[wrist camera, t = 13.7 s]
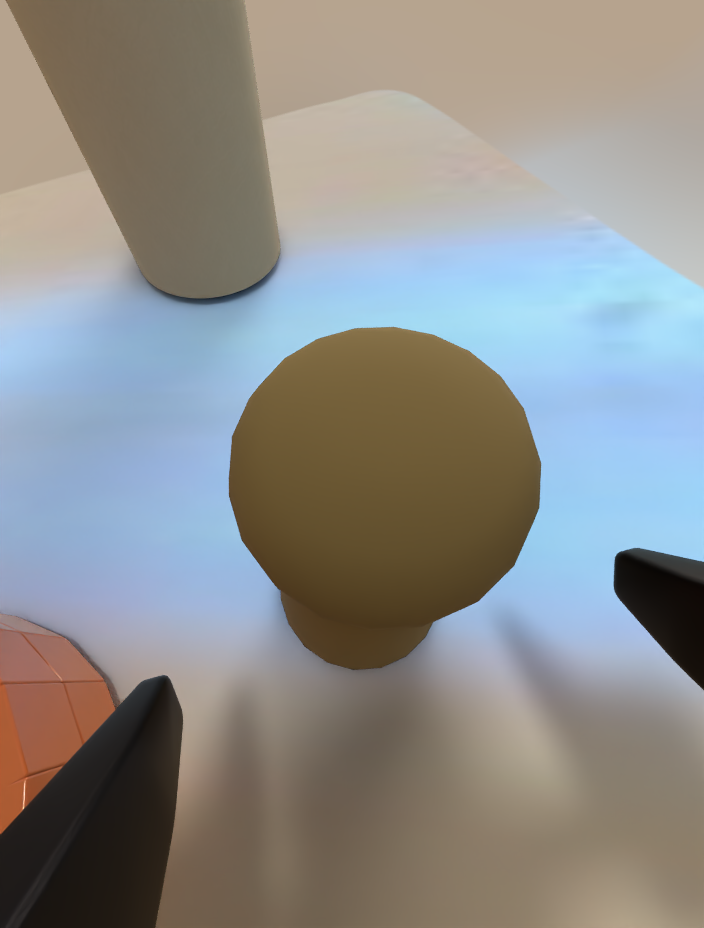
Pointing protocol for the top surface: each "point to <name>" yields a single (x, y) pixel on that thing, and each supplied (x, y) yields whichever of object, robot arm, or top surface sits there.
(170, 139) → the travel mug
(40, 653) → the orange brown bowl
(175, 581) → the top surface
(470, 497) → the cork
